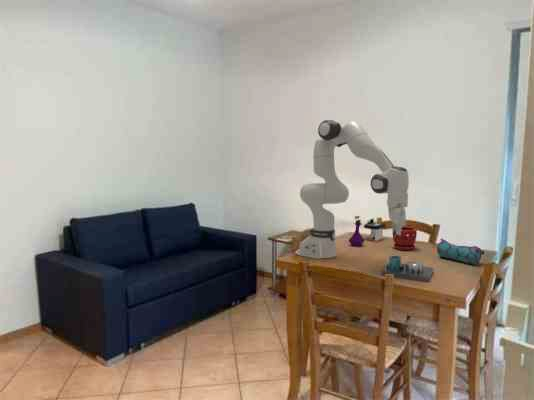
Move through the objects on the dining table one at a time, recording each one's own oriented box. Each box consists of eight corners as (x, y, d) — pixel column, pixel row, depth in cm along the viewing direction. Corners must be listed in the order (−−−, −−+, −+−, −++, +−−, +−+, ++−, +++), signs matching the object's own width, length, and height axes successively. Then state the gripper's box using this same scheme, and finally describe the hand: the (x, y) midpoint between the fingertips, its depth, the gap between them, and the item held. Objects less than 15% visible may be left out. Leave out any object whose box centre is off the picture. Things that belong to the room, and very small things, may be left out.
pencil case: (483, 263, 196) (484, 244, 195) (475, 267, 191) (476, 247, 190) (443, 255, 213) (444, 237, 211) (434, 258, 207) (435, 240, 206)
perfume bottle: (353, 243, 241) (353, 214, 238) (364, 245, 236) (365, 215, 234) (348, 245, 235) (348, 215, 232) (360, 247, 230) (360, 217, 228)
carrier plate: (381, 274, 179) (381, 262, 178) (389, 266, 193) (389, 254, 192) (428, 282, 169) (428, 268, 168) (433, 272, 183) (433, 259, 182)
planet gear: (384, 268, 182) (384, 257, 182) (388, 264, 189) (388, 254, 188) (401, 270, 178) (402, 260, 178) (405, 266, 185) (405, 256, 184)
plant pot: (420, 249, 226) (421, 228, 224) (406, 252, 219) (407, 231, 217) (401, 244, 237) (402, 225, 235) (387, 247, 229) (387, 227, 228)
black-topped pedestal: (363, 233, 270) (364, 214, 269) (401, 239, 254) (402, 218, 252) (343, 241, 249) (344, 220, 247) (383, 247, 232) (384, 225, 231)
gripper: (410, 205, 169) (408, 237, 171) (400, 199, 189) (398, 227, 191) (394, 205, 170) (393, 237, 172) (386, 199, 190) (385, 227, 192)
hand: (396, 232), depth 181 cm, fingers open, 8 cm apart
